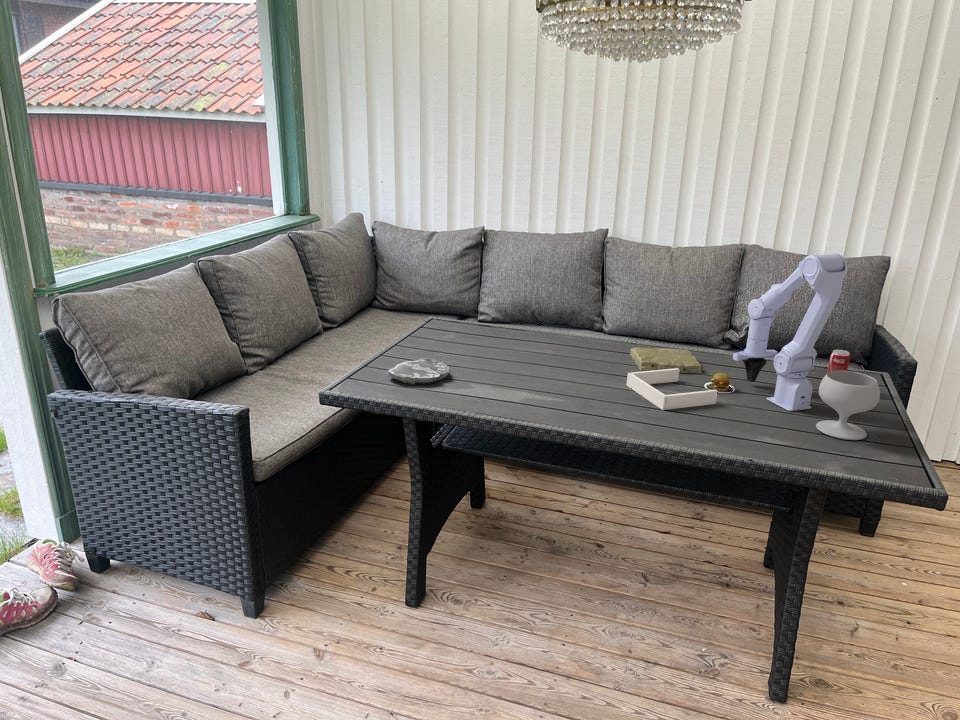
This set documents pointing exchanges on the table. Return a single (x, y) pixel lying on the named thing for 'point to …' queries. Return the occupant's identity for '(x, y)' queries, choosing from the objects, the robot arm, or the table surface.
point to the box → (665, 402)
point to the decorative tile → (665, 359)
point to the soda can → (839, 360)
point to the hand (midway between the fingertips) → (751, 380)
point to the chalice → (847, 401)
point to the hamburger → (720, 382)
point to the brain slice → (420, 371)
